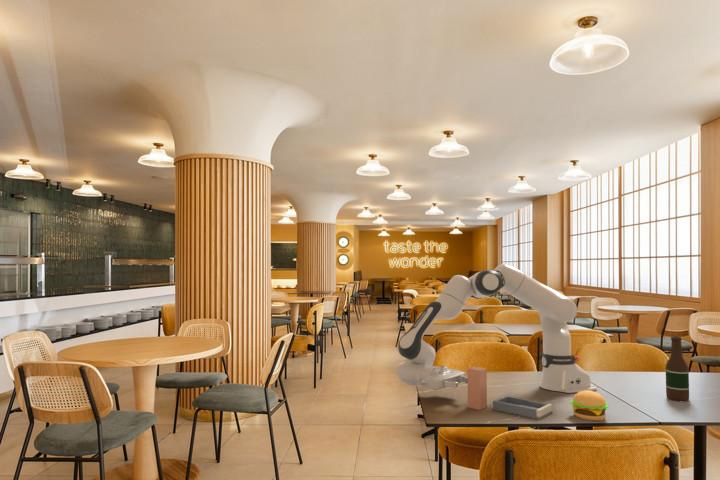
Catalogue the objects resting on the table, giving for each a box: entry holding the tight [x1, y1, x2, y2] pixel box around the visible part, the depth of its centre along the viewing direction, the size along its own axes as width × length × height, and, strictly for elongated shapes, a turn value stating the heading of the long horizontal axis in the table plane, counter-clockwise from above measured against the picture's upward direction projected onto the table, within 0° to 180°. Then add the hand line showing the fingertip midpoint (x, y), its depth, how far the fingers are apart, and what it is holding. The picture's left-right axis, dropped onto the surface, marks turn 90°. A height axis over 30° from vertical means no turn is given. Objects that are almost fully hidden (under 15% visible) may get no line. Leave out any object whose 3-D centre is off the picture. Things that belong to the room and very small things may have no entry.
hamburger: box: [570, 390, 610, 421], centre depth 177 cm, size 12×12×9 cm
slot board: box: [492, 395, 553, 420], centre depth 183 cm, size 17×10×3 cm, turn 47°
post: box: [467, 366, 488, 411], centre depth 188 cm, size 5×5×14 cm
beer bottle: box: [665, 335, 690, 402], centre depth 200 cm, size 8×8×24 cm
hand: (463, 383), depth 193 cm, fingers open, 8 cm apart
